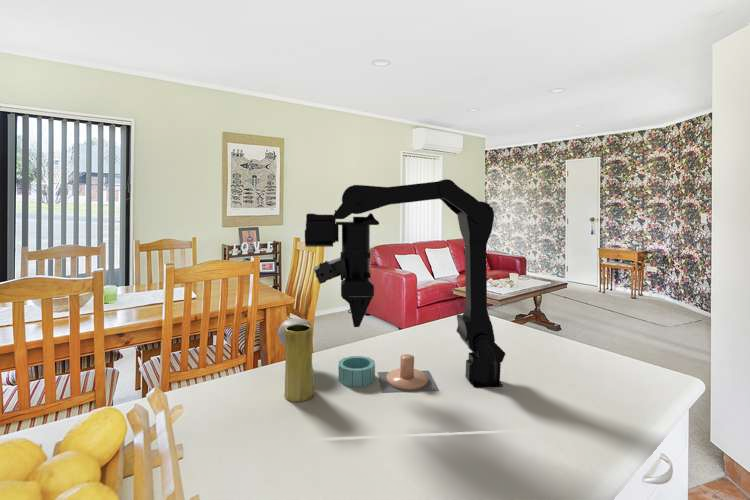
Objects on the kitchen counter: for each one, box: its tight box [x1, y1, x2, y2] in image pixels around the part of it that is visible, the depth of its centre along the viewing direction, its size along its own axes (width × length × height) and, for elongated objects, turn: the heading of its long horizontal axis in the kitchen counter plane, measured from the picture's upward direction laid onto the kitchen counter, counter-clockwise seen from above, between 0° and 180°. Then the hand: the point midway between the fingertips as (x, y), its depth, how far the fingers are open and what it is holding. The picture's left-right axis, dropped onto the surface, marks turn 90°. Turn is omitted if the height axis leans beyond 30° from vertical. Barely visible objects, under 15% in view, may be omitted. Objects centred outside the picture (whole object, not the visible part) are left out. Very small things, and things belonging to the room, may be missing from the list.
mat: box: [377, 370, 440, 394], centre depth 89 cm, size 12×10×1 cm
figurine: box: [277, 317, 314, 347], centre depth 95 cm, size 8×8×12 cm
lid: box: [387, 353, 428, 390], centre depth 88 cm, size 9×9×6 cm
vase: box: [283, 324, 315, 402], centre depth 82 cm, size 6×6×14 cm
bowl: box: [338, 355, 376, 388], centre depth 89 cm, size 8×8×4 cm
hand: (355, 320), depth 85 cm, fingers open, 9 cm apart
